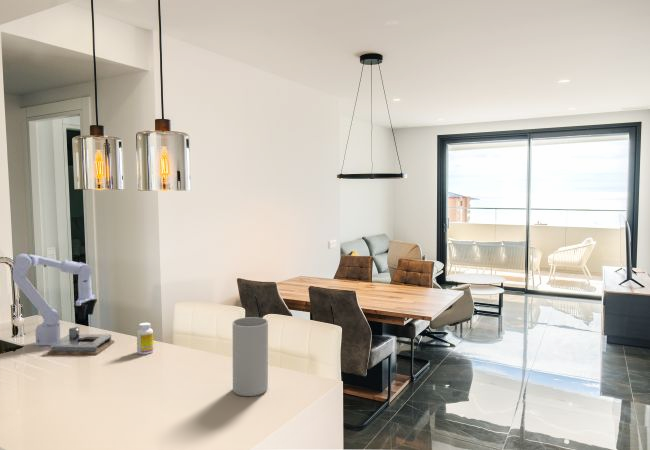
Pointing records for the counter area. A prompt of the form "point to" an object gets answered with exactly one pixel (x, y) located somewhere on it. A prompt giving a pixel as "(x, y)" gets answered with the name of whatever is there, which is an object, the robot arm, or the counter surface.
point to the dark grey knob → (74, 334)
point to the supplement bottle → (144, 339)
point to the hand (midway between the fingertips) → (86, 316)
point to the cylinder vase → (250, 356)
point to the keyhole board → (100, 349)
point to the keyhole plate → (80, 343)
